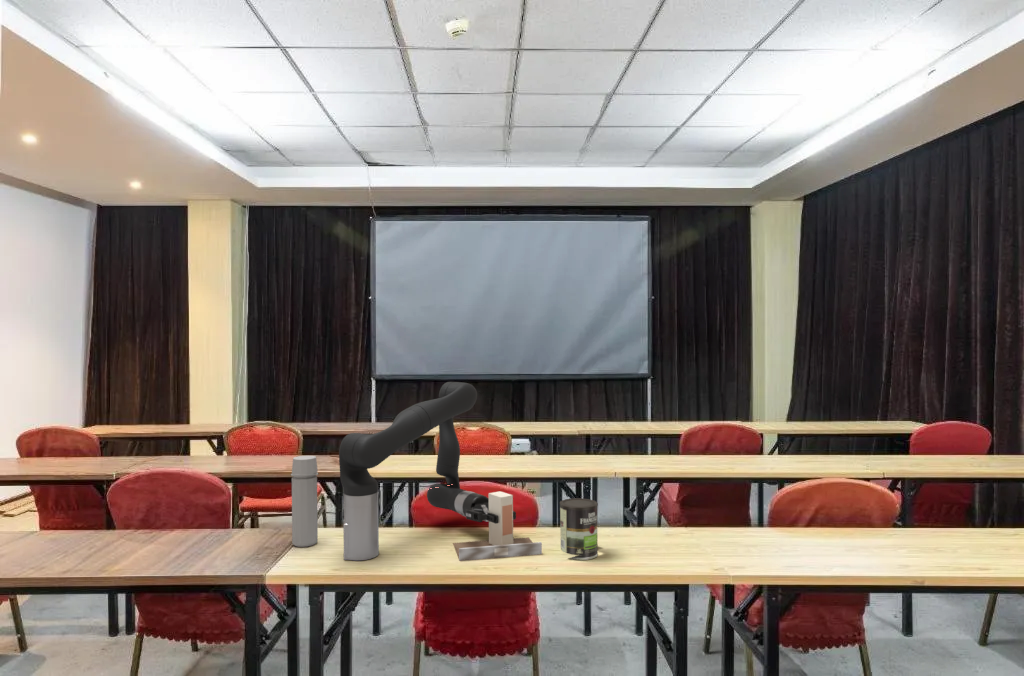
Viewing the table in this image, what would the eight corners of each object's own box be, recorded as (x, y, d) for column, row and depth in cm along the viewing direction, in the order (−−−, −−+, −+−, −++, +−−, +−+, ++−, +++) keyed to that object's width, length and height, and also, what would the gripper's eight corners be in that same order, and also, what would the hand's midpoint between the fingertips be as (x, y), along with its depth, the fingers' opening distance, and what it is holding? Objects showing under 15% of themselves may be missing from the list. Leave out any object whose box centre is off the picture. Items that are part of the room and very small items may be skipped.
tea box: (501, 548, 178) (501, 497, 178) (489, 543, 183) (488, 493, 183) (513, 545, 181) (513, 495, 181) (500, 540, 185) (500, 491, 185)
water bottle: (314, 548, 185) (313, 460, 185) (287, 548, 185) (286, 460, 185) (324, 538, 194) (323, 454, 194) (298, 538, 194) (297, 454, 194)
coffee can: (606, 554, 177) (605, 502, 177) (579, 563, 170) (578, 509, 170) (578, 545, 185) (578, 496, 185) (552, 553, 178) (551, 502, 178)
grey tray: (459, 567, 169) (459, 549, 169) (452, 548, 184) (452, 532, 184) (542, 560, 173) (541, 543, 173) (528, 542, 188) (528, 526, 188)
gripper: (451, 496, 189) (484, 508, 175) (492, 489, 198) (526, 500, 184) (451, 522, 189) (485, 536, 175) (492, 514, 198) (527, 526, 184)
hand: (506, 517), depth 180 cm, fingers open, 5 cm apart
